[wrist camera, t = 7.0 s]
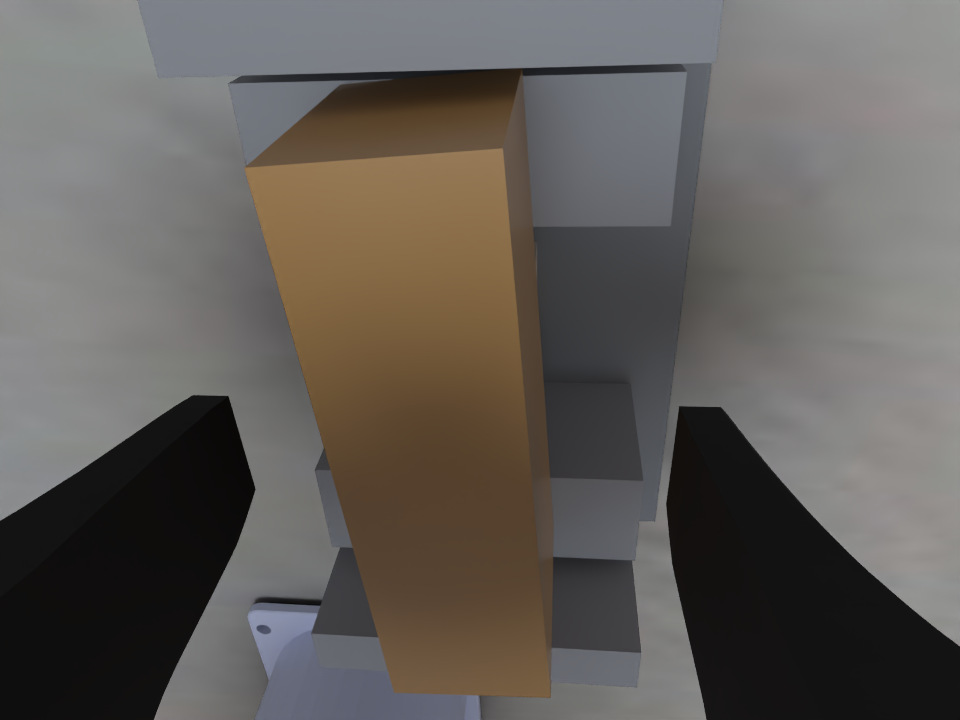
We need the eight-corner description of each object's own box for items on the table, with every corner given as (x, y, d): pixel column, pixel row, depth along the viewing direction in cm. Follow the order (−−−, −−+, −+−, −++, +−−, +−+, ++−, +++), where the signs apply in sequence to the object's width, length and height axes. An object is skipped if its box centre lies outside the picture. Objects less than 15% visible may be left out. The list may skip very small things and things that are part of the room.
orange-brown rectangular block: (325, 85, 11) (221, 169, 8) (522, 67, 11) (502, 148, 7) (418, 527, 16) (380, 692, 13) (553, 527, 16) (550, 697, 12)
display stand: (651, 496, 21) (681, 706, 16) (352, 485, 22) (282, 680, 17) (722, -119, 13) (838, -125, 7) (241, -93, 14) (33, -83, 8)
